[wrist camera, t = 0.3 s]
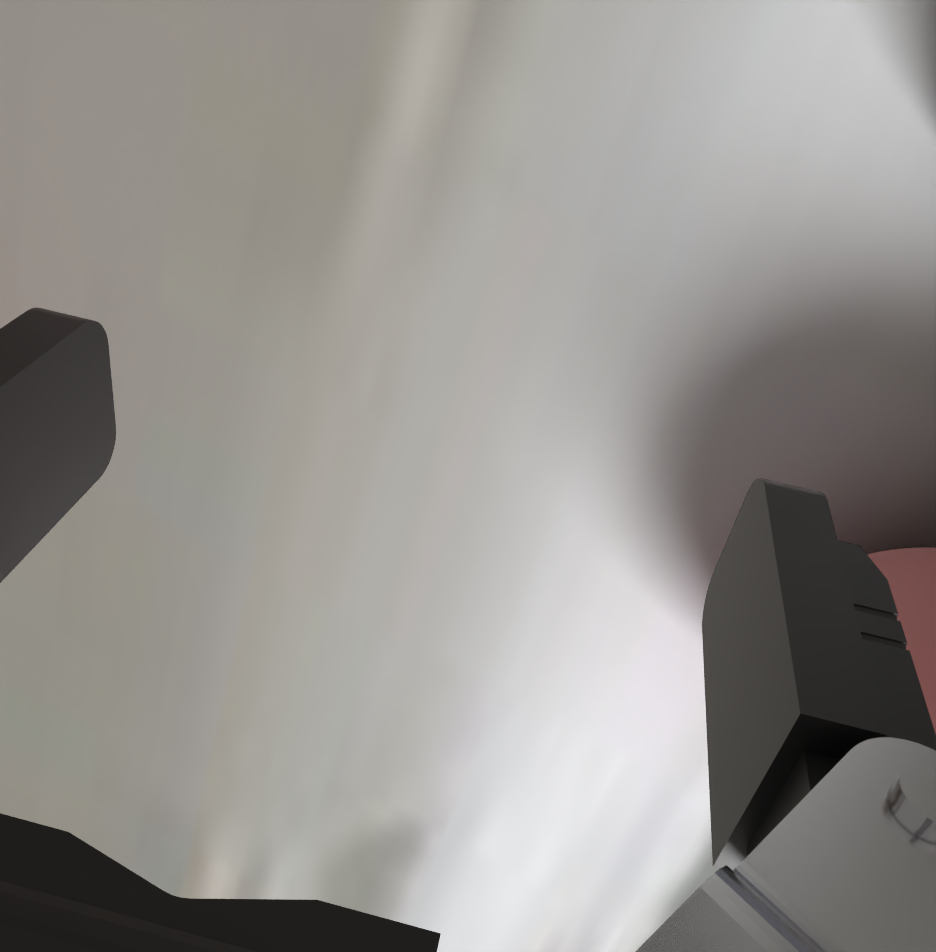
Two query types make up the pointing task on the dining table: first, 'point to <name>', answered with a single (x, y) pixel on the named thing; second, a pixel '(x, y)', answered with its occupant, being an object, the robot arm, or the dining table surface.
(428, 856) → the dining table surface
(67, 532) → the dining table surface
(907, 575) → the pink piggy bank
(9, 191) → the dining table surface
